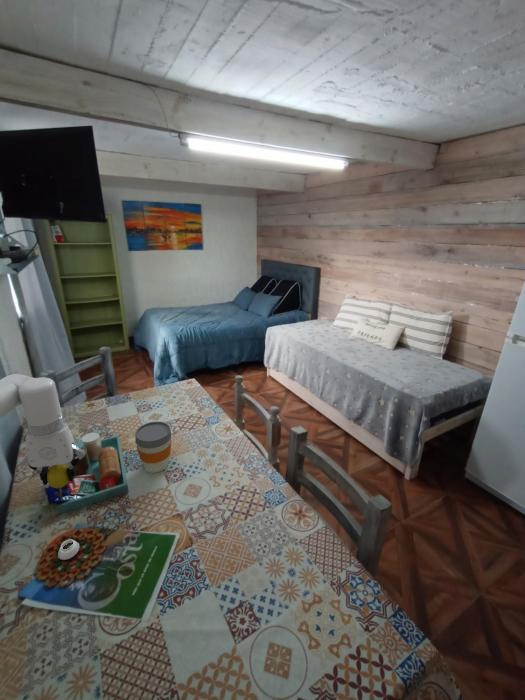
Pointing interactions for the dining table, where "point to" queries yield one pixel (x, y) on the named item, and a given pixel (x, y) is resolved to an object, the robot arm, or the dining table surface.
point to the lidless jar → (68, 550)
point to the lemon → (57, 476)
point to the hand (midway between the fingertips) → (59, 478)
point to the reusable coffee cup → (154, 445)
